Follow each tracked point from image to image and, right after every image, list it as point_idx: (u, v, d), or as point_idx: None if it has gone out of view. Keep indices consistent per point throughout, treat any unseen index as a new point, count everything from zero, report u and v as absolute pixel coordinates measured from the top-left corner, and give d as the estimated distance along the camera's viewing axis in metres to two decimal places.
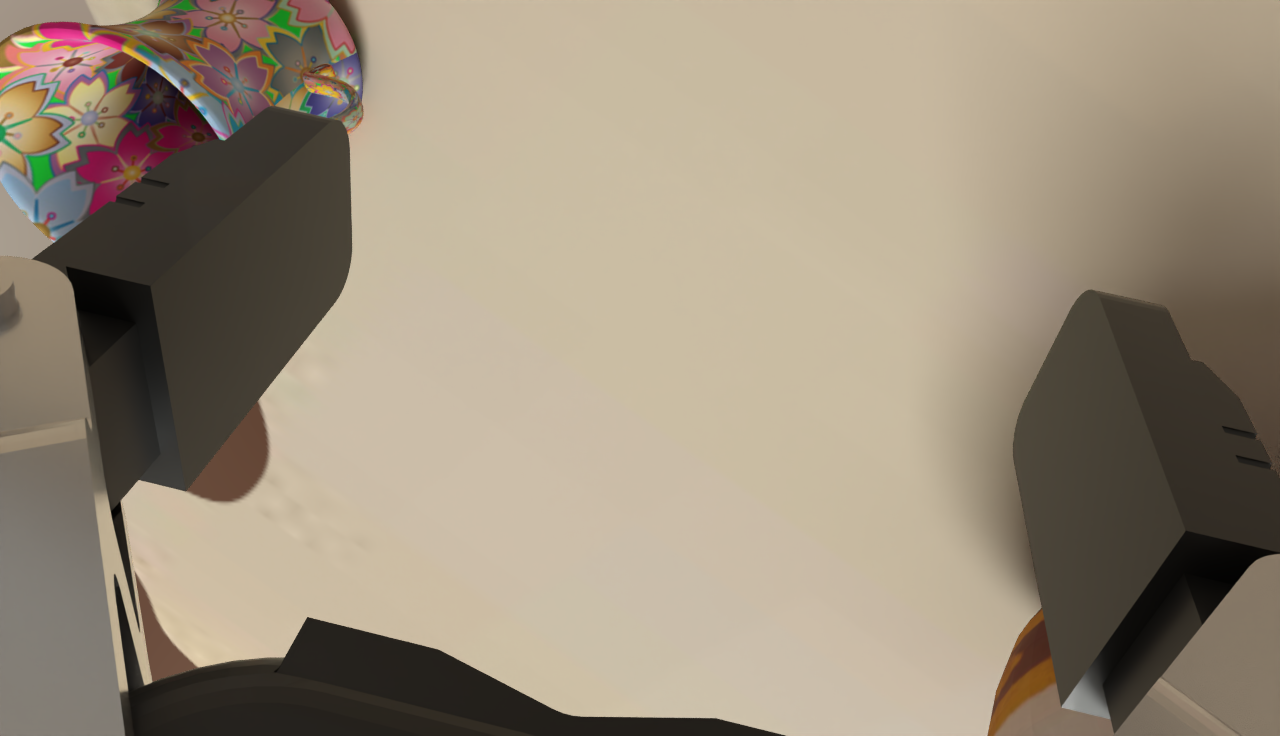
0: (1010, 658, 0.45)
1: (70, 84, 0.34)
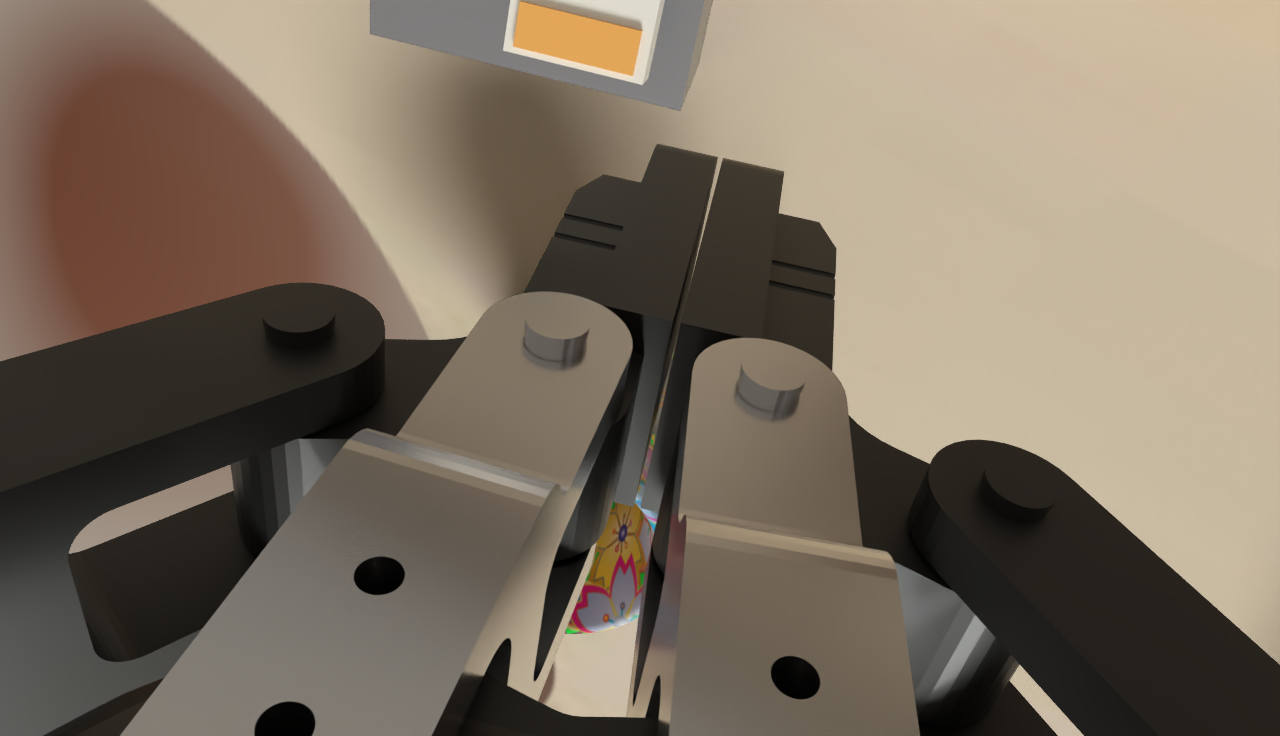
0: None
1: None
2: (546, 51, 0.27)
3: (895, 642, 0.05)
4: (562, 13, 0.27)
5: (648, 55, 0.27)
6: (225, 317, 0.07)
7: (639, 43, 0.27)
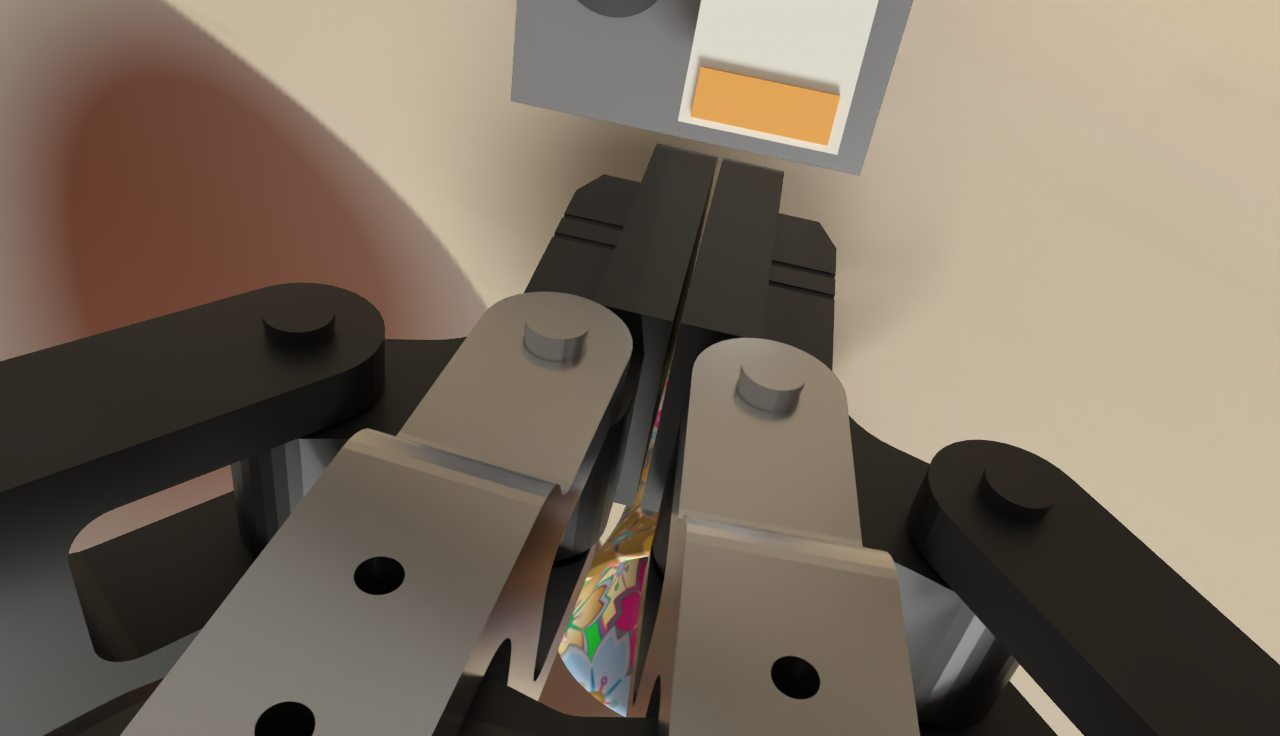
0: None
1: None
2: (729, 121, 0.24)
3: (895, 642, 0.05)
4: (748, 78, 0.24)
5: (845, 122, 0.24)
6: (225, 317, 0.07)
7: (836, 109, 0.24)
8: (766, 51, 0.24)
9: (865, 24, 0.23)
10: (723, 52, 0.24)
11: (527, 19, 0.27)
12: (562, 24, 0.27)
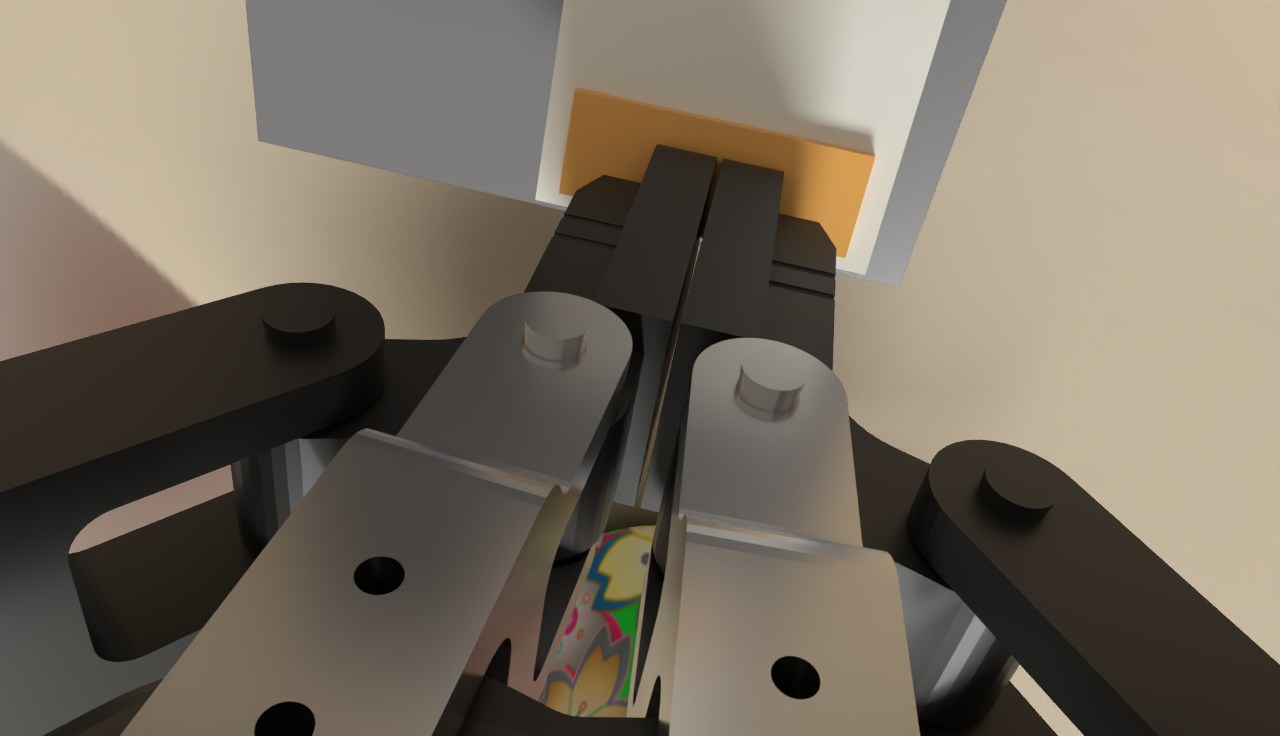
0: None
1: None
2: None
3: (895, 642, 0.05)
4: (677, 116, 0.11)
5: (883, 208, 0.11)
6: (225, 317, 0.07)
7: (867, 185, 0.11)
8: (715, 59, 0.11)
9: (935, 0, 0.10)
10: (623, 58, 0.11)
11: None
12: None
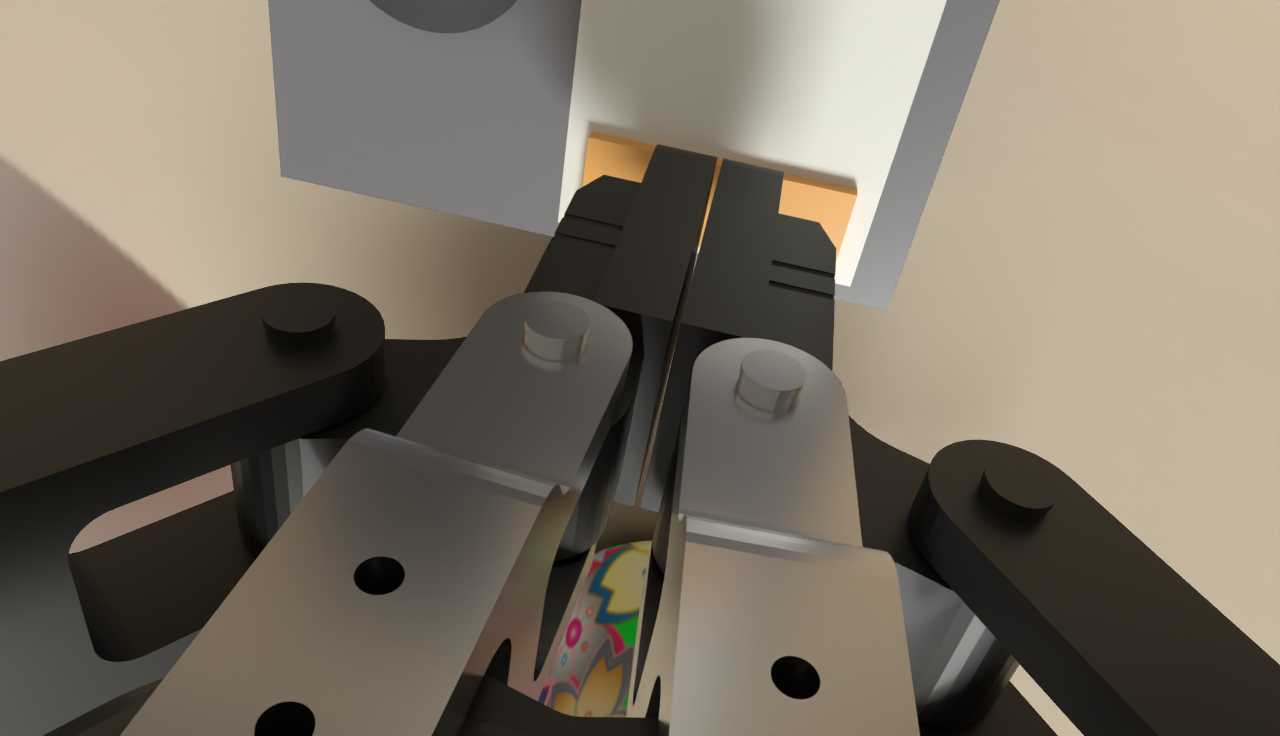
0: None
1: None
2: None
3: (895, 642, 0.05)
4: None
5: (865, 232, 0.13)
6: (225, 317, 0.07)
7: (850, 217, 0.12)
8: (712, 110, 0.12)
9: (911, 63, 0.11)
10: (631, 109, 0.12)
11: (290, 35, 0.15)
12: (352, 45, 0.15)
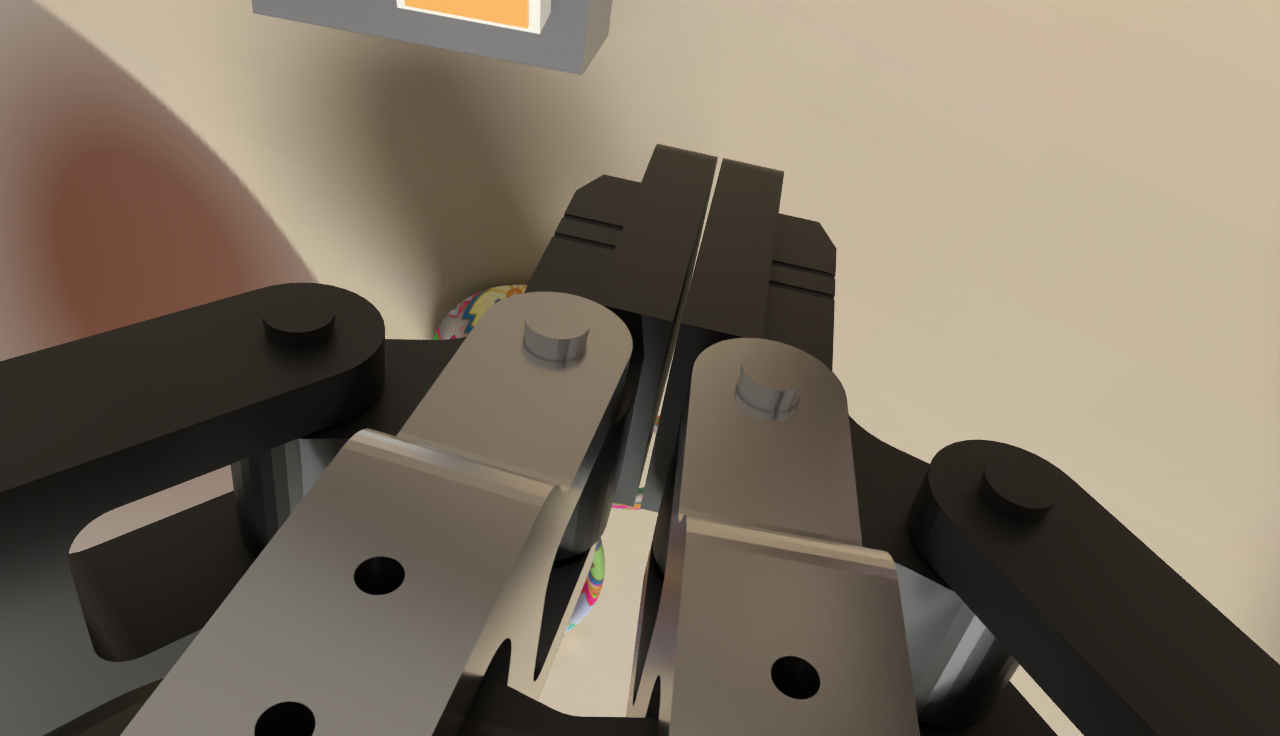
0: None
1: None
2: (438, 9, 0.27)
3: (895, 641, 0.05)
4: None
5: (540, 5, 0.26)
6: (225, 317, 0.07)
7: None
8: None
9: None
10: None
11: None
12: None
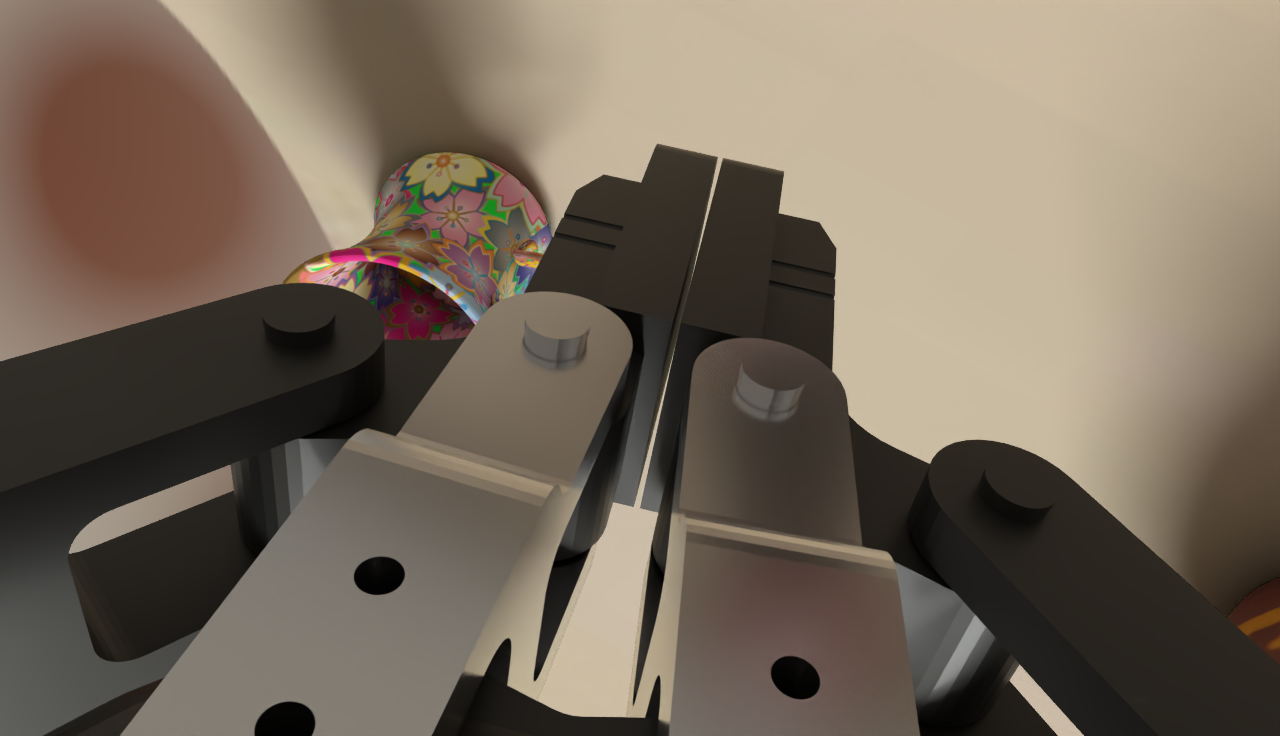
0: None
1: None
2: None
3: (895, 642, 0.05)
4: None
5: None
6: (225, 317, 0.07)
7: None
8: None
9: None
10: None
11: None
12: None
